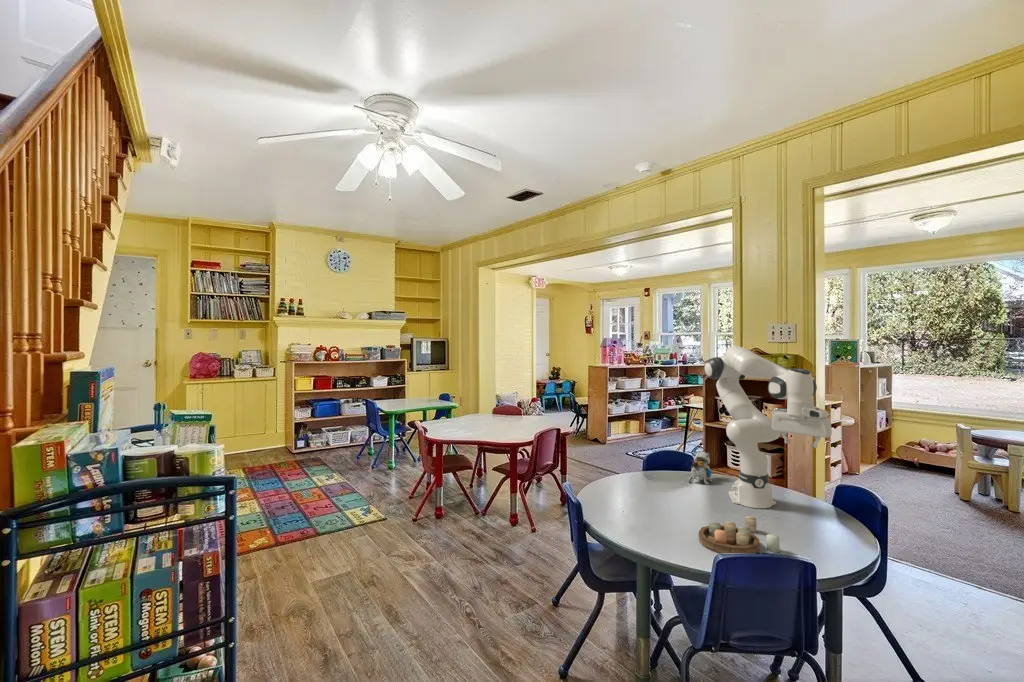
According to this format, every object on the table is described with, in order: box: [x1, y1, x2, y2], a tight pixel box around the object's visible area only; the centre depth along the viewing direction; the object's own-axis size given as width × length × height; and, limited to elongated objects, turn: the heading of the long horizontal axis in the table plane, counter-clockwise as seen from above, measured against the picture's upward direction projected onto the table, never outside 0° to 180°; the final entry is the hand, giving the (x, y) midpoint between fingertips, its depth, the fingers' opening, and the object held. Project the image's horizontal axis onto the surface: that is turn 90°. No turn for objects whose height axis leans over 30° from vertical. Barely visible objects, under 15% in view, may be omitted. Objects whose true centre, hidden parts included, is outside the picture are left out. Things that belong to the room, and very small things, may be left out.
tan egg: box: [744, 515, 757, 534], centre depth 183 cm, size 4×4×5 cm
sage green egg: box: [766, 533, 781, 554], centre depth 166 cm, size 4×4×5 cm
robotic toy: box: [685, 450, 713, 485], centre depth 248 cm, size 13×17×15 cm
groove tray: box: [698, 521, 760, 554], centre depth 171 cm, size 20×20×6 cm
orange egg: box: [714, 530, 727, 545], centre depth 167 cm, size 4×4×5 cm
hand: (800, 445), depth 181 cm, fingers open, 8 cm apart
